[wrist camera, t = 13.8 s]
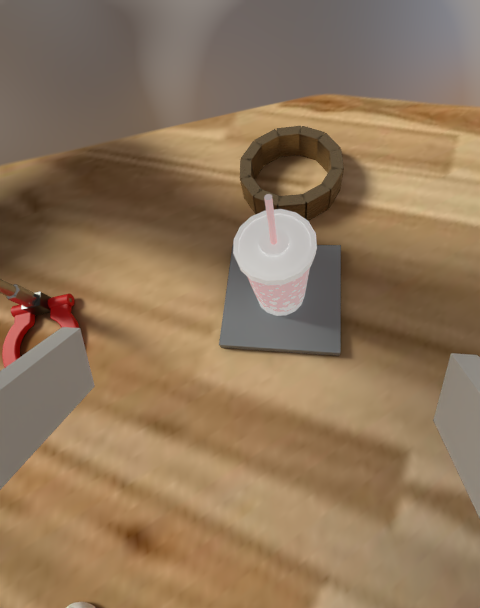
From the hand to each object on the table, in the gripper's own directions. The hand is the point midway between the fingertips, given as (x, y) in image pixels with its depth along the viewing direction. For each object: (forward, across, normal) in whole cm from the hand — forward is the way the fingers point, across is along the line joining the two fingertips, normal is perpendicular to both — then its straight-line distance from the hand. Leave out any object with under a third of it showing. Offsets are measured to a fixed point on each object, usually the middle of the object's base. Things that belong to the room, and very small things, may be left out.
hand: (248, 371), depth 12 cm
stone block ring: (+31, 0, +4) cm, 32 cm away
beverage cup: (+21, 0, -5) cm, 21 cm away
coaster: (+21, 0, -6) cm, 22 cm away
